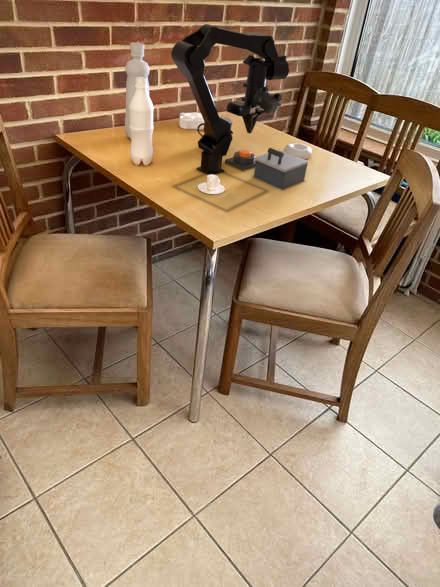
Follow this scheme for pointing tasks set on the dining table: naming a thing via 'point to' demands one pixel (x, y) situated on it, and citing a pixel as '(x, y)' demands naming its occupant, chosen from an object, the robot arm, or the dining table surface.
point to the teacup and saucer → (211, 185)
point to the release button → (245, 153)
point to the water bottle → (141, 124)
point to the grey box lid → (281, 160)
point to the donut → (298, 150)
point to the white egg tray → (191, 120)
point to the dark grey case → (279, 175)
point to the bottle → (134, 78)
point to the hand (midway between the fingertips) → (249, 133)
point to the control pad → (241, 161)
